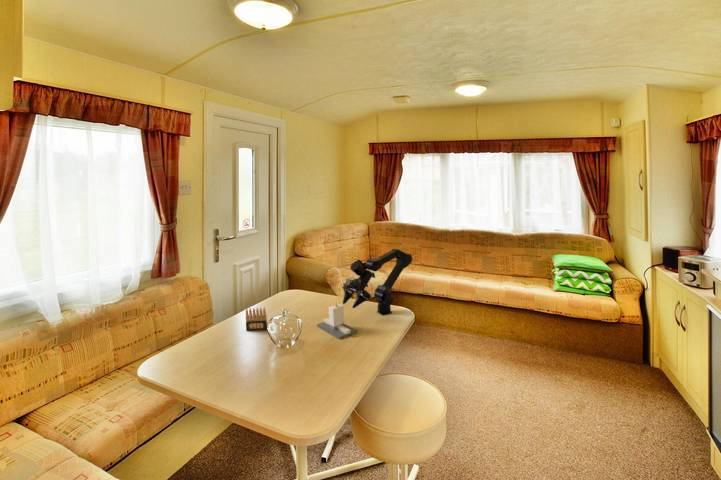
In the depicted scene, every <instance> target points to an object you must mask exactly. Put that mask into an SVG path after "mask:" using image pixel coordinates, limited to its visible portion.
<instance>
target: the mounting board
mask: <svg viewBox="0 0 721 480" xmlns="http://www.w3.org/2000/svg"><path fill="white" fill-rule="evenodd" d="M316 327H317V328H319V329H321V330H323V331H324V332H326V333H327V334H329V335H331V336H333V337H335V338H336V339H339V340H341V339H344V338H347V337H350V336H351V335H355V334H357V333H358V329H356V328H354V327H352V326H350V325H348V324H346V323H344V326H342V325H338V326H336V330H333V329H331V328H330V326H329V317H327V318H324V319H323V322H319V323H316Z"/></svg>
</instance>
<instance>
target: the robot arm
mask: <svg viewBox="0 0 721 480" xmlns="http://www.w3.org/2000/svg"><path fill="white" fill-rule="evenodd" d="M394 259H396V260H395V265H394V267H393V269H392V270H391V272H390V273H389V274H388V277H387V278H386V280H385V281H384V282H383V284H382V285H381V284H378V285H377V287H376V288H375V290H374V292H373V295H374V299H375V301H376V302H377V311H376V313H378V314H380V315H381V316H385V315H389V314H392V313H393V312H392V311H391V310H392V309H391V304H393V302H394V298H392V297H391V295H392V294H391V293H392V288H393V286H394V285H395V283H396V282H397V280H398V278H399V277H400V275H401V273H402V272H403V270H404V269H405V268H407V267H409V266H410V264H412V261H413V256H412V254H410V253H406V252H404V251H402V250H400V249H399V248H398V249H397V248H392V249H391V250H389V251H388V252H385V253H384V254H382V255H380V256H378V257H371V258H369V259H366V261H365V262H363V260H361V259H357V260H356V261H354V262H352V263H351V265H350V267H349V268H350V270H351V271H352V272H353V273H354V274H355V275H357V277H358V278H354V279H351V278H346V279H345V284H344V285H342V290H343V291H344V296H343V300H342V304H343V305H346V303H347V302H348V301H349V300H350V299H351V298H352V297H353V295H354V294H356V299H354V300H355V301H354V302H353V304H352V309H355V308H357V307H358V306H360V305H361V304H363V303H365V302H366V301H369V300H370V299H371V297H372V294H370V293H369V292H368V291H367V290H366V288H369V282H370V281H371V279H372V278H374V279H376V275H375V272H377V271H379V270H380V269H381V268H382V266H384V265H385V264H387V263H388V262H390V261H392V260H394Z"/></svg>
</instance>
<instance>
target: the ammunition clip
mask: <svg viewBox="0 0 721 480" xmlns="http://www.w3.org/2000/svg"><path fill="white" fill-rule="evenodd" d="M267 318H268V317H267V312H266V308H265V307H263V309H262V307H259V308H258V307H256V309H255V307H253V308H251V307H249V310H248V308H246V309H245V331H246V332H255V331H268V329H267V325H268V319H267Z"/></svg>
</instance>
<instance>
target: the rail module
mask: <svg viewBox="0 0 721 480" xmlns="http://www.w3.org/2000/svg"><path fill="white" fill-rule="evenodd" d="M344 315H345V314H344V305H342V304H340V303H334V304H333V305H331V306H328V319H329V326H330V328H331V329H333V330H336V326H338V325H342V326H344V324H345V317H344Z"/></svg>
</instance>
